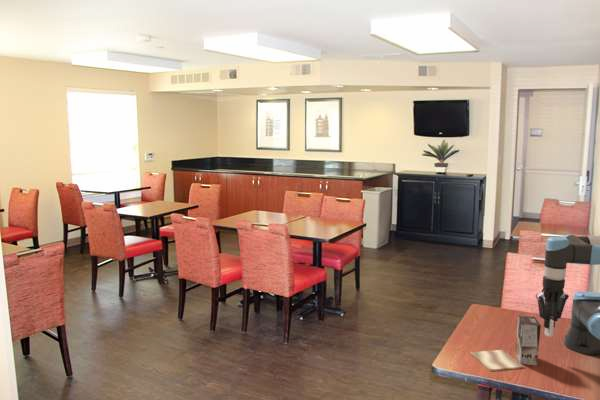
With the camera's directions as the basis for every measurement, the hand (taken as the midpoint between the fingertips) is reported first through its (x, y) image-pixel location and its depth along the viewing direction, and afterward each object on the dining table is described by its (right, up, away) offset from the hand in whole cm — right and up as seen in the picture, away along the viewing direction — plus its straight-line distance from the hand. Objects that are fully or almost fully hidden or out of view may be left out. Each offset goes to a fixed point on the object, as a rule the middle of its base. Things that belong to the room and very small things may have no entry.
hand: (548, 335), depth 196 cm
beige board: (-21, -9, -1) cm, 23 cm away
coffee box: (-9, -9, 0) cm, 13 cm away
